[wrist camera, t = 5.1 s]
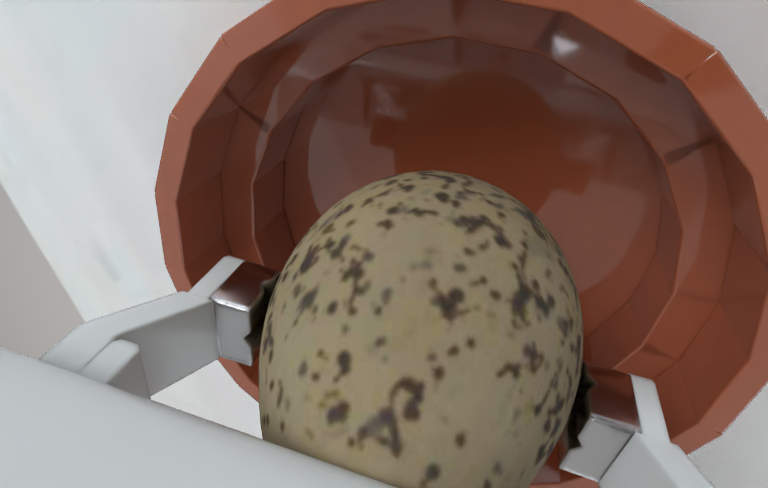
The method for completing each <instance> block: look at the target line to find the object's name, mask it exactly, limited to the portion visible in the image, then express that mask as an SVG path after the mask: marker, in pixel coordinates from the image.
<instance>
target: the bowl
mask: <svg viewBox="0 0 768 488" xmlns="http://www.w3.org/2000/svg"><path fill="white" fill-rule="evenodd" d="M432 170H433V171H445V172H453V173H460V174H464V175H468V176H472V177H474V178H477V179H480V180H483V181H485V182H488V183H490V184H492V185H494V186H496V187H498V188H500V189H502V190H504V191H505V192H507V193H508V194H510V195H511V196H513V197H514V198H516V199H517V200H519V201H520V202H522V203H523V204H524V205H525V206H526V207H527V208H529V209H530V210H531V211H532V212H533V213H534V214H535V215H536V216H537V217H538V218H539V220H540V221H541V222H542V223H543V224H544V226H545V227H546V228H547V229H548V230H549V232H550V233H551V234H552V236H553V237H554V239H555V240H556V242H557V243H558V245H559V247H560V248H561V250H562V252H563V254H564V256H565V258H566V260H567V262H568V264H569V266H570V269H571V272H572V275H573V278H574V280H575V284H576V288H577V292H578V296H579V300H580V304H581V310H582V317H583V361H586V362H590V363H593V364H597V365H600V366H604V367H607V368H611V369H614V370H618V371H621V372H625V373H630V374H633V375H637V376H640V377H644V378H648V379H651V380H652V381H653V382H654V383H655V385H656V389H657V393H658V397H659V400H660V404H661V408H662V412H663V416H664V419H665V423H666V427H667V431H668V435H669V438H670V442H671V443H672V444H676V445H678V446H679V447H680V448H681V449H682V450H683V452H684V453H685V454H686V455H688V454H690V453H692V452H693V451H695V450H697V449H699V448H700V447H702V446H704V445H706V444H707V443H709V442H711V441H713V440H714V439H716V438H718V437H720V436H722V433H723V432H725V431H726V430H727V429H728V428H729V426H730V425H731V424H732V423H733V422H734V421H735V420H736V418H737V417H738V416H739V415H740V414H741V413H742V412H743V410H744V409H745V408H746V407H747V406H748V405H749V404H750V402H751V401H752V400H753V399H754V398H755V397H756V396H757V395H758V393H759V392H760V391H761V390H762V389H763V388H764V387H765V385H766V384H767V383H768V119H767V118H766V116H765V115H764V113H763V112H762V110H761V109H760V108H759V106H758V105H757V103H756V102H755V101H754V99H753V98H752V96H751V95H750V94H749V92H748V91H747V89H746V88H745V86H744V85H743V84H742V82H741V81H740V79H739V78H738V77H737V75H736V74H735V72H734V71H733V70H732V68H731V67H730V65H729V64H728V62H727V61H726V60H725V58H724V57H723V55H722V54H721V53H720V51H718V50H716V49H715V47H714V46H713V45H711V44H709V43H708V42H706V41H704V40H703V39H701V38H699V37H698V36H696V35H694V34H693V33H691V32H690V31H688V30H686V29H685V28H683V27H681V26H680V25H678V24H676V23H675V22H673V21H671V20H670V19H668V18H666V17H665V16H663V15H661V14H660V13H658V12H656V11H655V10H653V9H652V8H650V7H648V6H647V5H645V4H643V3H642V2H640V1H638V0H272V1H270V2H269V3H267V4H266V5H264V6H263V7H262V8H260V9H259V10H257V11H256V12H254V13H253V14H251V15H250V16H248V17H247V18H245V19H244V20H242V21H241V22H239V23H238V24H236V25H235V26H233V27H232V28H230V29H229V30H227V31H226V32H224V33H223V34H222V35H221V37H220V38H219V39H218V41H217V42H216V44H215V46H214V47H213V49H212V50H211V52H210V53H209V55H208V56H207V58H206V59H205V61H204V62H203V64H202V65H201V67H200V68H199V70H198V72H197V73H196V75H195V76H194V78H193V79H192V81H191V82H190V84H189V85H188V87H187V88H186V90H185V91H184V93H183V95H182V96H181V98H180V99H179V101H178V102H177V104H176V105H175V107H174V108H173V110H172V113H170V115H169V120H168V125H167V130H166V135H165V140H164V145H163V151H162V156H161V161H160V166H159V171H158V176H157V181H156V187H155V198H156V205H157V212H158V219H159V226H160V233H161V239H162V246H163V253H164V260H165V265H166V268H167V270H168V273H169V275H170V277H171V279H172V281H173V284H174V286H175V288H176V290H177V292H180V291H185V292H189V291H190V290H191V289H192V288H193V287H194V286H195V285H196V284H197V283H198V282H199V281H200V280H201V279H202V278H203V277H204V276H205V275H206V274H207V273H208V272H209V271H210V270H211V269H212V268H213V267H214V266H215V265H216V264H217V263H218V262H219V261H220V260H221V259H222V258H223V257H226V256H233V257H236V258H239V259H242V260H245V261H249V262H252V263H256V264H259V265H262V266H265V267H268V268H271V269H274V270H277V271H281V272H282V270H283V268H284V266H285V264H286V262H287V260H288V259H289V257H290V255H291V254H292V252H293V251H294V249H295V248H296V246H297V245H298V243H299V242H300V241H301V240H302V238H303V237H304V236H305V234H306V233H307V232H308V230H309V229H310V228H311V227H312V226H313V224H314V223H315V222H316V221H317V220H318V219H319V218H320V217H322V216H323V215H324V214H325V213H326V212H327V211H328V210H329V209H330V208H331V207H333V206H334V205H335V204H337V203H338V202H339V201H341V200H342V199H343V198H345V197H346V196H348V195H349V194H351V193H352V192H354V191H356V190H358V189H360V188H362V187H364V186H366V185H368V184H370V183H373V182H375V181H378V180H381V179H383V178H386V177H390V176H393V175H397V174H403V173H408V172H416V171H432ZM259 355H260V354H259ZM218 360H219V362H220V363H221V364H222V366H223V367H224V368H225V369H226V371H227V372H228V373H229V374H230V376H231V377H232V378H233V380H234V381H235V382H236V383H237V384H238V386H239V387H240V388H242V389H243V390H244V391H245V392H246V393H248V394H249V395H250V396H251V397H252V398H253V399H255V400H256V401H257V402H258V403H259V356H258V357H257V359H256V360H255V361H254V363H253V364H252V366H249V365H245V364H242V363H239V362H235V361H232V360H229V359H225V358H222V357H219V358H218ZM562 433H563V432H562ZM561 435H562V434H561ZM560 437H561V436H560ZM598 483H599V482H596V481H594V480H591V479H588V478H585V477H582V476H580V475H577V474H574V473H571V472H569V471H566V470H563V469H560V468H559V461H558V442H557V444H556V446H555V447H554V449H553V451H552V453H551V454H550V456H549V457H548V459H547V460H546V462H545V464H544V465H543V467H542V468H541V470H540V471H539V472H538V474H537V475H536V477H535V478H534V479H533V481H532V482H531V483H530V485H529V486H528V487H527V488H600V487H599V485H598Z"/></svg>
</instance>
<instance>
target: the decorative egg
mask: <svg viewBox="0 0 768 488" xmlns="http://www.w3.org/2000/svg"><path fill="white" fill-rule="evenodd" d="M582 362H583V317H582V310H581V304H580V300H579V296H578V292H577V288H576V284H575V280H574V278H573V275H572V272H571V269H570V266H569V264H568V262H567V260H566V258H565V256H564V254H563V252H562V250H561V248H560V247H559V245H558V243H557V242H556V240H555V239H554V237H553V236H552V234H551V233H550V232H549V230H548V229H547V228H546V227H545V226H544V224H543V223H542V222H541V221H540V220H539V218H538V217H537V216H536V215H535V214H534V213H533V212H532V211H531V210H530V209H529V208H527V207H526V206H525V205H524V204H523V203H522V202H520V201H519V200H517V199H516V198H514V197H513V196H511V195H510V194H508V193H507V192H505V191H504V190H502V189H500V188H498V187H496V186H494V185H492V184H490V183H488V182H485V181H483V180H480V179H477V178H474V177H472V176H468V175H464V174H460V173H453V172H445V171H433V170H432V171H416V172H408V173H403V174H397V175H393V176H390V177H386V178H383V179H381V180H378V181H375V182H373V183H370V184H368V185H366V186H364V187H362V188H360V189H358V190H356V191H354V192H352V193H351V194H349V195H348V196H346V197H345V198H343V199H342V200H341V201H339V202H338V203H337V204H335V205H334V206H333V207H331V208H330V209H329V210H328V211H327V212H326V213H325V214H324V215H323V216H322V217H320V218H319V219H318V220H317V221H316V222H315V223H314V224H313V226H312V227H311V228H310V229H309V230H308V232H307V233H306V234H305V236H304V237H303V238H302V240H301V241H300V242H299V243H298V245H297V246H296V248H295V249H294V251H293V252H292V254H291V255H290V257H289V259H288V260H287V262H286V264H285V266H284V268H283V270H282V272H281V275H280V277H279V279H278V281H277V284H276V286H275V288H274V291H273V294H272V296H271V299H270V302H269V306H268V310H267V313H266V317H265V322H264V327H263V332H262V338H261V347H260V355H259V409H260V422H261V430H262V437H263V440H266V441H268V442H271V443H274V444H277V445H280V446H282V447H285V448H288V449H291V450H294V451H297V452H299V453H302V454H305V455H308V456H311V457H313V458H316V459H319V460H322V461H325V462H327V463H330V464H333V465H336V466H339V467H341V468H344V469H347V470H350V471H353V472H356V473H358V474H361V475H364V476H367V477H370V478H372V479H375V480H378V481H381V482H384V483H386V484H389V485H392V486H395V487H398V488H527V487H528V486H529V485H530V483H531V482H532V481H533V479H534V478H535V477H536V475H537V474H538V472H539V471H540V470H541V468H542V467H543V465H544V464H545V462H546V460H547V459H548V457H549V456H550V454H551V453H552V451H553V449H554V447H555V446H556V444H557V442H558V440H559V438H560V436H561V434H562V432H563V430H564V427H565V425H566V422H567V420H568V417H569V415H570V412H571V410H572V407H573V404H574V401H575V397H576V393H577V389H578V385H579V380H580V376H581V369H582Z"/></svg>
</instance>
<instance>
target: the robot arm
mask: <svg viewBox="0 0 768 488" xmlns="http://www.w3.org/2000/svg"><path fill="white" fill-rule="evenodd" d="M280 275H281V271H277V270H274V269H271V268H268V267H265V266H262V265H259V264H256V263H252V262H249V261H245V260H242V259H239V258H236V257H233V256H226V257H223V258H222V259H221V260H220V261H219V262H218V263H217V264H216V265H215V266H214V267H213V268H212V269H211V270H210V271H209V272H208V273H207V274H206V275H205V276H204V277H203V278H202V279H201V280H200V281H199V282H198V283H197V284H196V285H195V286H194V287H193V288H192V289H191V290H190V291H189V292H185V291H180V292H177V293H174V294H171V295H168V296H165V297H161V298H158V299H155V300H152V301H149V302H146V303H143V304H140V305H137V306H134V307H131V308H128V309H124V310H121V311H118V312H115V313H112V314H109V315H106V316H103V317H100V318H97V319H94V320H91V321H87V322H84V323H82V324H80V325H79V326H78V327H76V328H75V329H74V330H73V331H71V332H70V333H69V334H68V335H67V336H65V337H64V338H63V339H62V340H61V341H59V342H58V343H57V344H56V345H54V346H53V347H52V348H51V349H50V350H48V351H47V352H46V353H45V354H44V355H42V356H41V357H40V358H39V359H35V358H32V357H29V356H26V355H23V354H21V353H18V352H15V351H12V350H9V349H7V348H4V347H0V488H398V487H395V486H392V485H389V484H386V483H384V482H381V481H378V480H375V479H372V478H370V477H367V476H364V475H361V474H358V473H356V472H353V471H350V470H347V469H344V468H341V467H339V466H336V465H333V464H330V463H327V462H325V461H322V460H319V459H316V458H313V457H311V456H308V455H305V454H302V453H299V452H297V451H294V450H291V449H288V448H285V447H282V446H280V445H277V444H274V443H271V442H268V441H266V440H263V439H260V438H257V437H254V436H252V435H249V434H246V433H243V432H240V431H237V430H235V429H232V428H229V427H226V426H223V425H221V424H218V423H215V422H212V421H209V420H206V419H204V418H201V417H198V416H195V415H192V414H190V413H187V412H184V411H181V410H178V409H175V408H173V407H170V406H167V405H164V404H161V403H159V402H156V401H153V400H151V398H150V396H152V395H154V394H156V393H157V392H159V391H161V390H163V389H165V388H166V387H168V386H170V385H172V384H174V383H175V382H177V381H179V380H181V379H183V378H184V377H186V376H188V375H190V374H192V373H193V372H195V371H197V370H199V369H201V368H202V367H204V366H206V365H208V364H210V363H211V362H213V361H215V360H217V359H218V358H219V357H222V358H225V359H229V360H232V361H235V362H239V363H242V364H245V365H249V366H252V364H253V363H254V361H255V360H256V359H257V357H258V356H259V354H260V347H261V338H262V332H263V327H264V322H265V317H266V313H267V310H268V306H269V302H270V299H271V296H272V294H273V291H274V288H275V286H276V284H277V281H278V279H279V277H280ZM558 461H559V468H560V469H563V470H566V471H569V472H571V473H574V474H577V475H580V476H582V477H585V478H588V479H591V480H594V481H596V482H599V483H598V485H599V487H600V488H715V487H714V486H713V485H712V484H711V482H710V481H709V480H708V479H707V478H706V477H705V476H704V474H703V473H702V472H701V471H700V470H699V469H698V468H697V466H696V465H695V464H694V463H693V462H692V461H691V460H690V458H689V457H688V456H687V455H686V454H685V453H684V452H683V450H682V449H681V448H680V447H679V446H678V445H676V444H672V443H671V442H670V438H669V435H668V431H667V427H666V423H665V419H664V416H663V412H662V408H661V404H660V400H659V397H658V393H657V389H656V385H655V383H654V382H653V381H652V380H651V379H648V378H644V377H640V376H637V375H633V374H630V373H625V372H621V371H618V370H614V369H611V368H607V367H604V366H600V365H597V364H593V363H590V362H586V361H583V362H582V369H581V376H580V380H579V385H578V389H577V393H576V397H575V401H574V404H573V407H572V410H571V412H570V415H569V417H568V420H567V422H566V425H565V427H564V430H563V433H562V435H561V437H560V438H559V440H558Z"/></svg>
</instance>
